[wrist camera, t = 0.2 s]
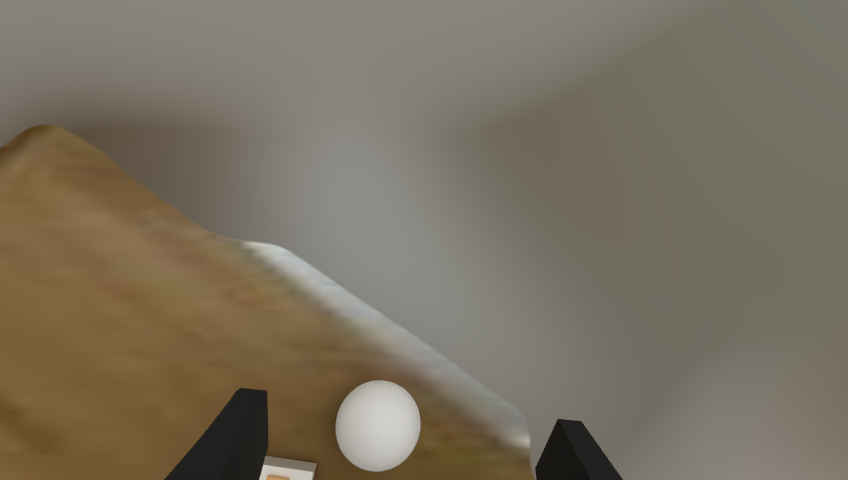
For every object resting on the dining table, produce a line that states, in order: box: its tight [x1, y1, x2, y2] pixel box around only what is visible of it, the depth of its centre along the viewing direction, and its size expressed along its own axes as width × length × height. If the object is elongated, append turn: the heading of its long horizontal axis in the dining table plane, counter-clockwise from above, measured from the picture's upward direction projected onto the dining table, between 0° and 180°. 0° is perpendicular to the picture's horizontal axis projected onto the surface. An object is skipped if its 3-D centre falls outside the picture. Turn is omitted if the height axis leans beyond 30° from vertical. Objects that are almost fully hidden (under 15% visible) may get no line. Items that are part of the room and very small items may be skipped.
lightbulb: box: [336, 380, 421, 472], centre depth 35 cm, size 6×6×11 cm
